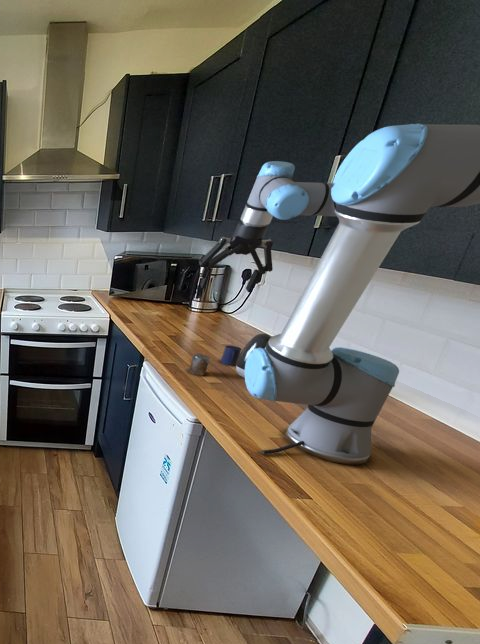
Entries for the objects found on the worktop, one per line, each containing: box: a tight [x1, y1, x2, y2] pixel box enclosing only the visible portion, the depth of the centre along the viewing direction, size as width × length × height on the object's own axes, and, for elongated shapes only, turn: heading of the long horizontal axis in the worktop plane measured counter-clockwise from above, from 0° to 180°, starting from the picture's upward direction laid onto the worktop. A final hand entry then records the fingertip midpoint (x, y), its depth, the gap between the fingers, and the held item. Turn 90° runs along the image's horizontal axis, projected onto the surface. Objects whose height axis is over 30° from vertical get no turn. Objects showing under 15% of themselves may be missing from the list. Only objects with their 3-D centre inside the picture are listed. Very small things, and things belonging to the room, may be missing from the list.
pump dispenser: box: [235, 333, 272, 379], centre depth 131 cm, size 10×10×15 cm
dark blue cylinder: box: [220, 345, 242, 367], centre depth 145 cm, size 5×5×6 cm
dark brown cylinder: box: [188, 353, 211, 377], centre depth 135 cm, size 5×5×6 cm
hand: (224, 288), depth 130 cm, fingers open, 13 cm apart
